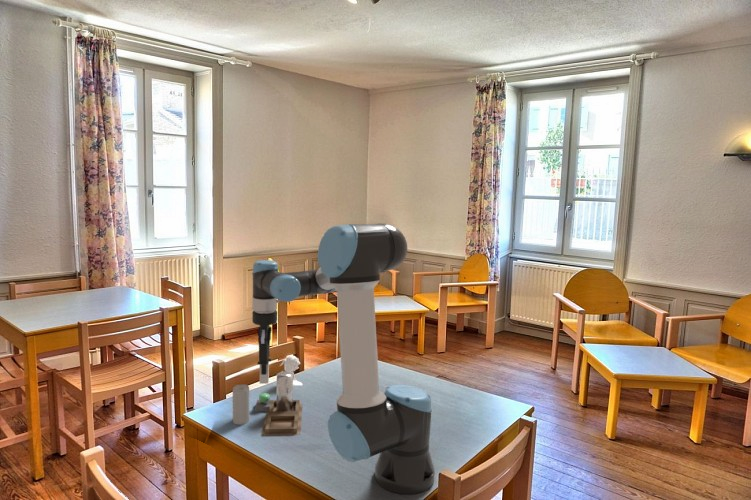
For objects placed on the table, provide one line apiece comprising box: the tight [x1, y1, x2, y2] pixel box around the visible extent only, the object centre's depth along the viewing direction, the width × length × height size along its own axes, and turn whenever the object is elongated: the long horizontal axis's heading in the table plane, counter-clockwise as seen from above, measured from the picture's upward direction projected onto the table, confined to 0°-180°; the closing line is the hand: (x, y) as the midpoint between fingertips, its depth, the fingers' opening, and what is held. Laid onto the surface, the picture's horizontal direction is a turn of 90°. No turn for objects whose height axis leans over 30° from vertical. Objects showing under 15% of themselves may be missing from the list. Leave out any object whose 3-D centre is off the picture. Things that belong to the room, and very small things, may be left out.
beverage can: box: [232, 383, 250, 425], centre depth 152 cm, size 5×5×12 cm
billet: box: [276, 370, 294, 412], centre depth 159 cm, size 5×5×12 cm
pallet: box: [254, 399, 303, 436], centre depth 155 cm, size 20×14×3 cm
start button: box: [258, 392, 271, 402], centre depth 161 cm, size 3×3×2 cm
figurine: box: [279, 355, 303, 386], centre depth 180 cm, size 9×9×12 cm
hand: (264, 382), depth 161 cm, fingers closed
